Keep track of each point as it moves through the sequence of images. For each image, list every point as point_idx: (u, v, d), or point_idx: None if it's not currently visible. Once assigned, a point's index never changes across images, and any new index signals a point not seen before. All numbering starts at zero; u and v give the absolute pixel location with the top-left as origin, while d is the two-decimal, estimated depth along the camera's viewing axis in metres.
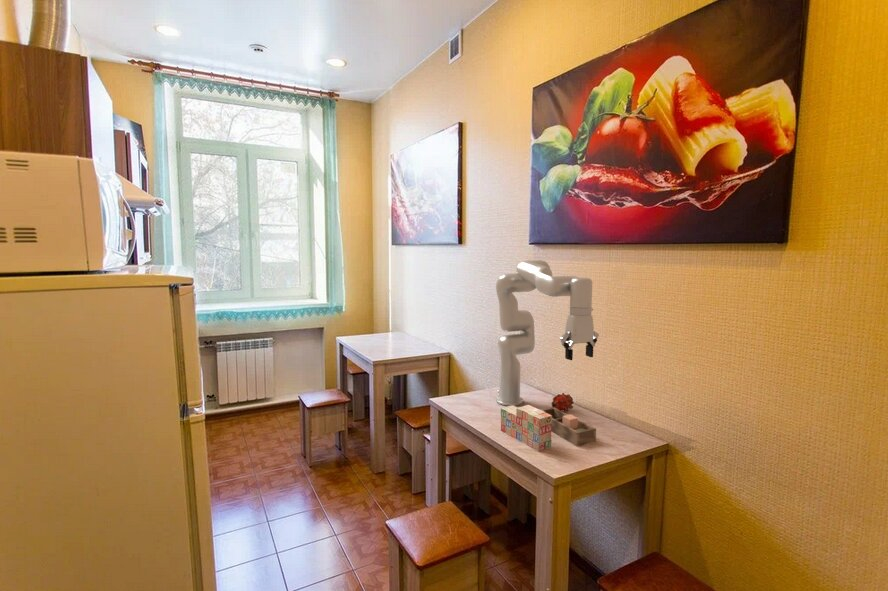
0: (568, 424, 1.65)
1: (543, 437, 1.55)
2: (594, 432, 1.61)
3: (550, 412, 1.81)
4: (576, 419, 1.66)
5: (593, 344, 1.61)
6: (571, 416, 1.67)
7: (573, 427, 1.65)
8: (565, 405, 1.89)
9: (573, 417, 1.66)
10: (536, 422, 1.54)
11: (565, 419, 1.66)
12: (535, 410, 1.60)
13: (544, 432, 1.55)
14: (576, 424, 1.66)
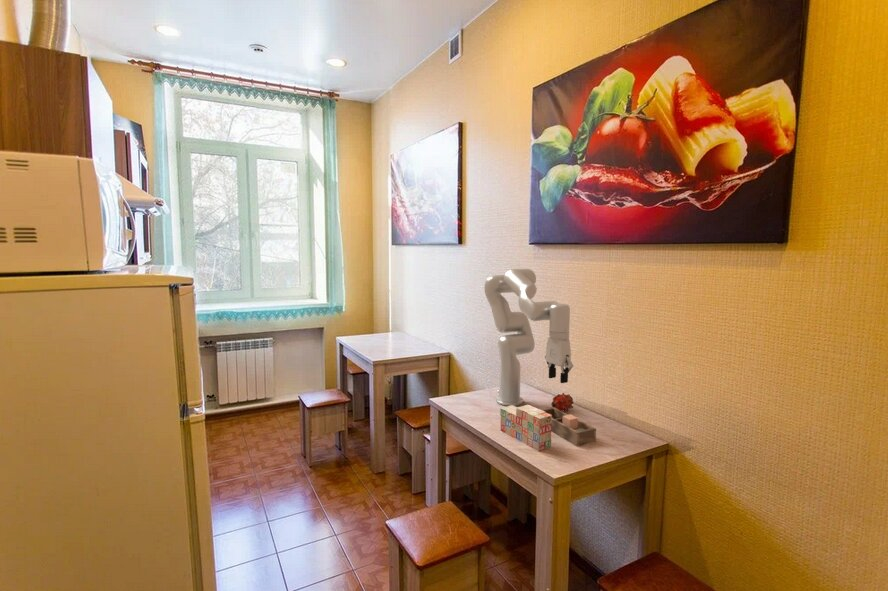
0: (568, 424, 1.65)
1: (543, 437, 1.55)
2: (594, 432, 1.61)
3: (550, 412, 1.81)
4: (576, 419, 1.66)
5: None
6: (571, 416, 1.67)
7: (573, 427, 1.65)
8: (565, 405, 1.89)
9: (573, 417, 1.66)
10: (536, 422, 1.54)
11: (565, 419, 1.66)
12: (535, 410, 1.60)
13: (544, 432, 1.55)
14: (576, 424, 1.66)
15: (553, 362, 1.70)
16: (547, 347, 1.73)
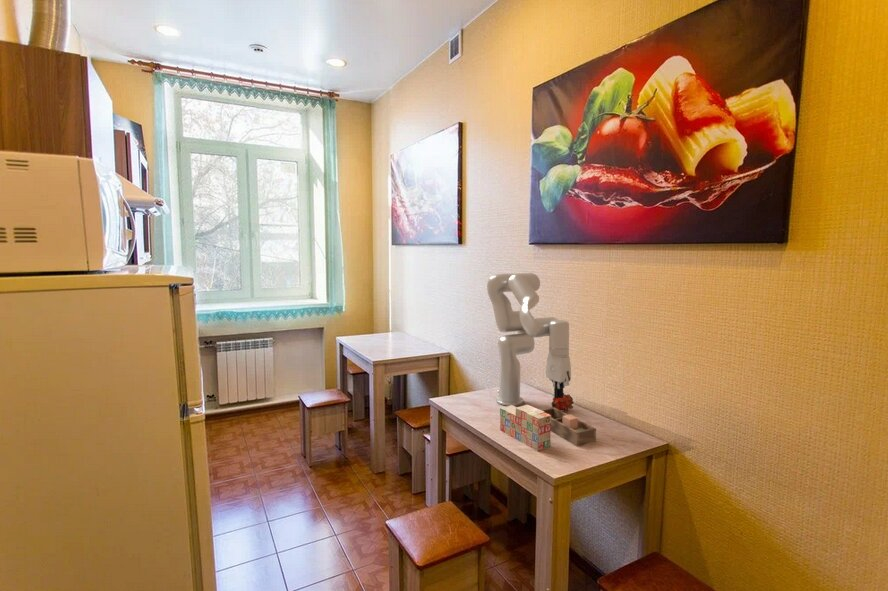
0: (568, 424, 1.65)
1: (542, 437, 1.55)
2: (594, 432, 1.61)
3: (550, 412, 1.81)
4: (576, 419, 1.66)
5: None
6: (571, 416, 1.67)
7: (573, 427, 1.65)
8: (565, 405, 1.89)
9: (573, 417, 1.66)
10: (535, 422, 1.54)
11: (565, 419, 1.66)
12: (534, 410, 1.60)
13: (543, 432, 1.55)
14: (576, 424, 1.66)
15: (553, 378, 1.70)
16: (547, 363, 1.74)
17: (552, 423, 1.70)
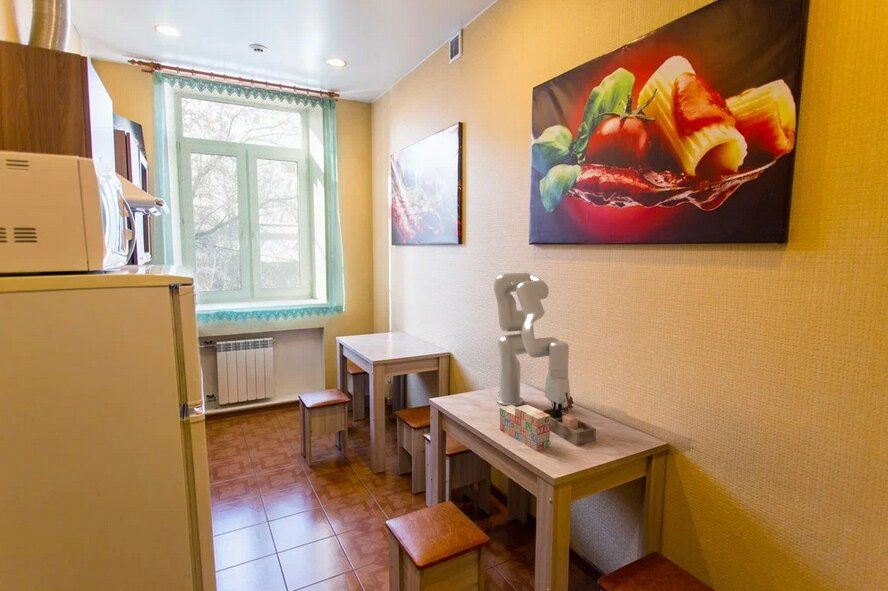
0: (568, 424, 1.65)
1: (541, 437, 1.55)
2: (594, 432, 1.61)
3: (550, 412, 1.81)
4: (576, 419, 1.66)
5: None
6: (571, 416, 1.67)
7: (573, 427, 1.65)
8: None
9: (573, 417, 1.66)
10: (534, 422, 1.54)
11: (565, 419, 1.66)
12: (533, 410, 1.60)
13: (542, 432, 1.55)
14: (576, 424, 1.66)
15: (552, 399, 1.71)
16: (546, 384, 1.75)
17: (552, 423, 1.70)
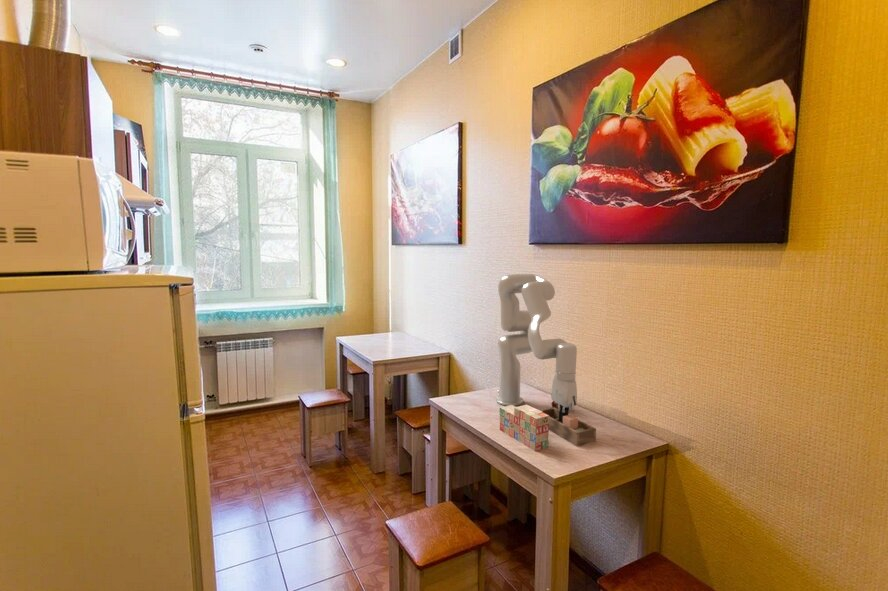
0: (568, 424, 1.65)
1: (540, 437, 1.55)
2: (594, 432, 1.61)
3: (550, 412, 1.81)
4: (576, 419, 1.66)
5: None
6: (571, 416, 1.67)
7: (573, 427, 1.65)
8: None
9: (573, 417, 1.66)
10: (533, 422, 1.54)
11: (566, 419, 1.66)
12: (533, 410, 1.60)
13: (541, 432, 1.55)
14: (576, 424, 1.66)
15: (559, 402, 1.68)
16: (553, 386, 1.71)
17: (552, 423, 1.70)
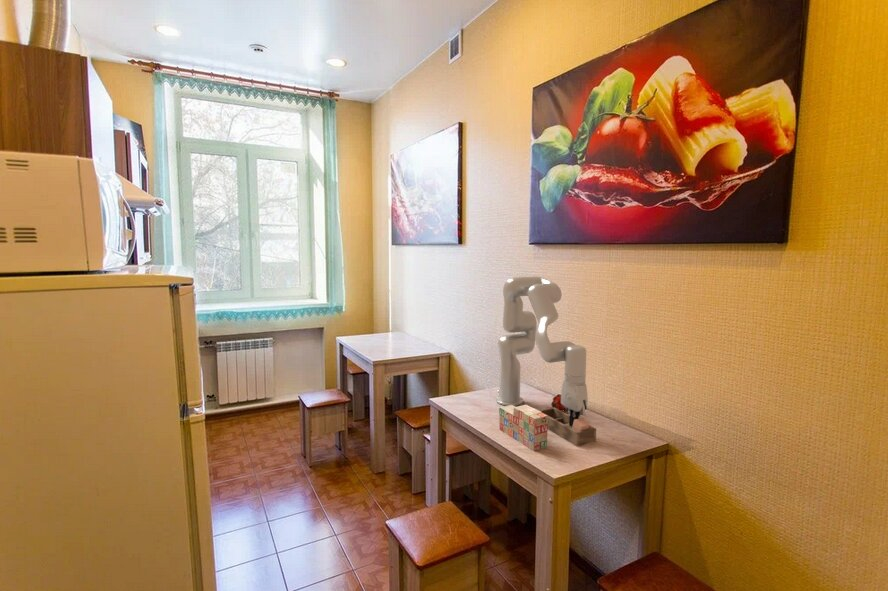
0: (579, 430, 1.60)
1: (539, 437, 1.55)
2: (594, 432, 1.61)
3: (550, 412, 1.81)
4: (588, 426, 1.60)
5: None
6: (583, 421, 1.61)
7: None
8: None
9: (585, 423, 1.61)
10: (531, 422, 1.54)
11: (577, 423, 1.60)
12: (532, 410, 1.60)
13: (539, 432, 1.55)
14: None
15: (569, 406, 1.63)
16: (562, 390, 1.66)
17: (552, 423, 1.70)
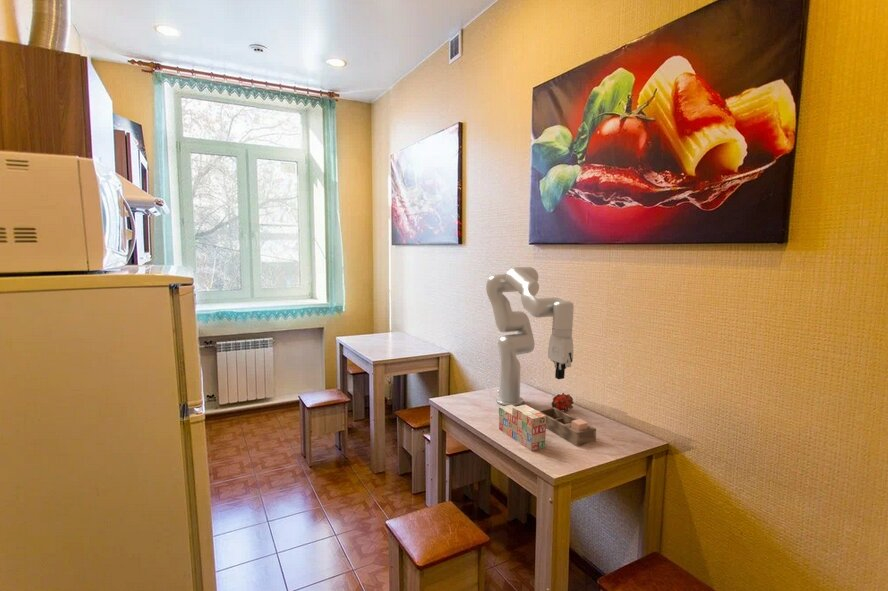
0: (577, 429, 1.60)
1: (537, 437, 1.55)
2: (594, 432, 1.61)
3: (550, 412, 1.81)
4: (586, 424, 1.61)
5: None
6: (580, 421, 1.63)
7: None
8: (565, 405, 1.89)
9: (582, 422, 1.62)
10: (529, 422, 1.54)
11: (575, 423, 1.62)
12: (530, 410, 1.60)
13: (537, 432, 1.55)
14: (586, 429, 1.61)
15: (555, 359, 1.69)
16: (549, 344, 1.72)
17: (552, 423, 1.70)
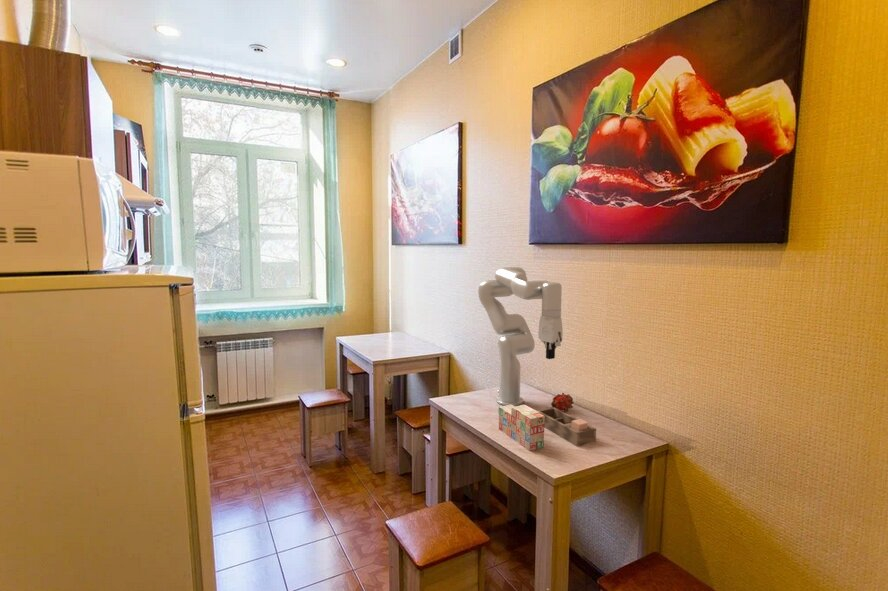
0: (577, 429, 1.60)
1: (535, 437, 1.54)
2: (594, 432, 1.61)
3: (550, 412, 1.81)
4: (586, 424, 1.61)
5: None
6: (580, 421, 1.63)
7: None
8: (565, 405, 1.89)
9: (582, 422, 1.62)
10: (527, 422, 1.54)
11: (575, 423, 1.62)
12: (529, 410, 1.60)
13: (535, 432, 1.54)
14: (586, 429, 1.61)
15: (545, 339, 1.74)
16: (540, 325, 1.77)
17: (552, 423, 1.70)
